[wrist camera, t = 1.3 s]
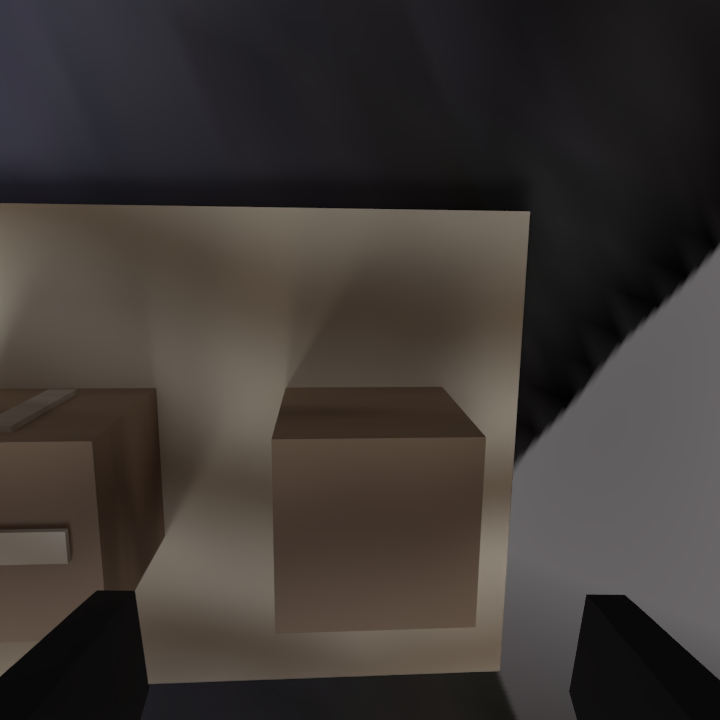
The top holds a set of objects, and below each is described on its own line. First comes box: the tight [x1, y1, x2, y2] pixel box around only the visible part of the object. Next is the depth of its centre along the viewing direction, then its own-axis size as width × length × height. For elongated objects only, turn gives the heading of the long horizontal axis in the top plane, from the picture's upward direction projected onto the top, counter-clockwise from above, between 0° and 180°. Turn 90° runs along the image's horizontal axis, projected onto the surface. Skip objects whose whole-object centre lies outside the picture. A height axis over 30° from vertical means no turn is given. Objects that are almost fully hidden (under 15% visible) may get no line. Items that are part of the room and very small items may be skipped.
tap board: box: [0, 203, 530, 684], centre depth 18 cm, size 16×28×1 cm, turn 89°
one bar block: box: [0, 388, 165, 643], centre depth 15 cm, size 5×5×5 cm
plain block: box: [271, 387, 486, 634], centre depth 16 cm, size 5×5×5 cm
